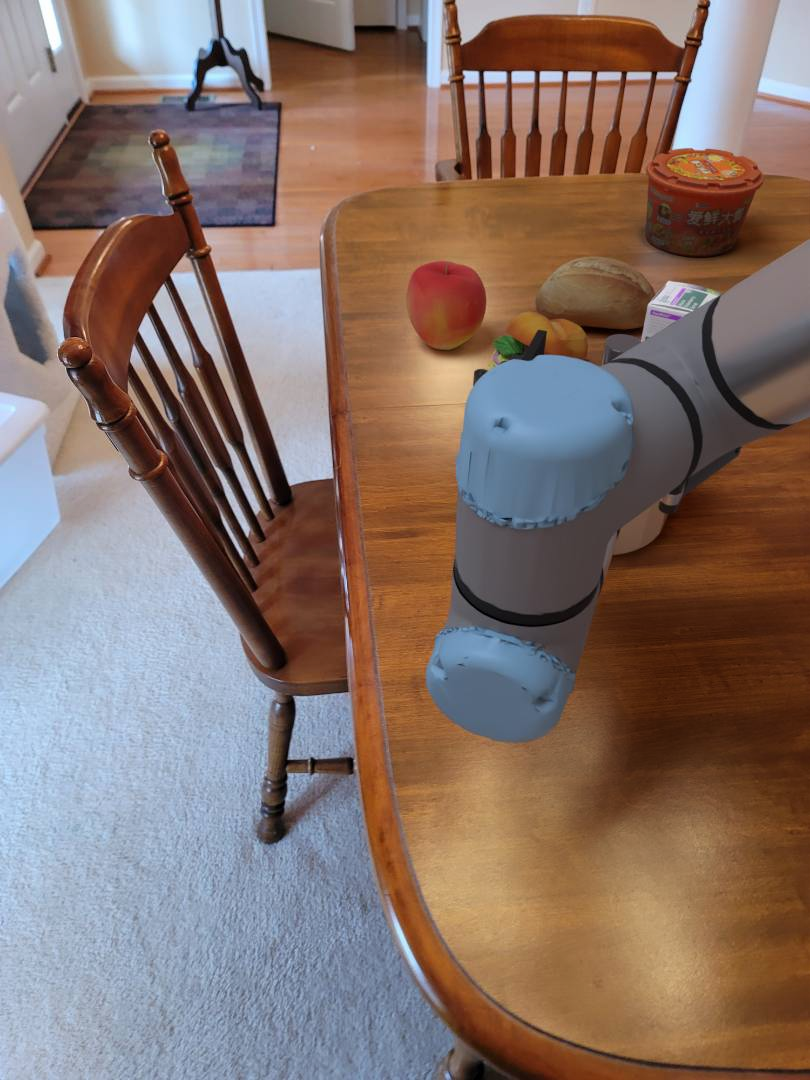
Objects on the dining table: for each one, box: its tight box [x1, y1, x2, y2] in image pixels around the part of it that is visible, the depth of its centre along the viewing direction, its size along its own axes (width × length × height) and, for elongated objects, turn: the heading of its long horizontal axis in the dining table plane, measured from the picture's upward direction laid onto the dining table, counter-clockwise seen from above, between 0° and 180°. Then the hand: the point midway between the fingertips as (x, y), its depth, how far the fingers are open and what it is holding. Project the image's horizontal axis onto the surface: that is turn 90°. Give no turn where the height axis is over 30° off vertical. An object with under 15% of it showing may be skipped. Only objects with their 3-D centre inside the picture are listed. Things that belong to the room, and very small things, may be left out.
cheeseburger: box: [486, 310, 591, 371], centre depth 92 cm, size 10×11×10 cm
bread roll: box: [535, 256, 657, 330], centre depth 103 cm, size 10×15×8 cm, turn 80°
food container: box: [644, 147, 765, 258], centre depth 120 cm, size 16×16×11 cm
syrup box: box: [640, 280, 723, 342], centre depth 85 cm, size 6×6×14 cm
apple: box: [405, 260, 487, 351], centre depth 98 cm, size 10×10×10 cm
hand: (622, 360), depth 68 cm, fingers open, 13 cm apart
